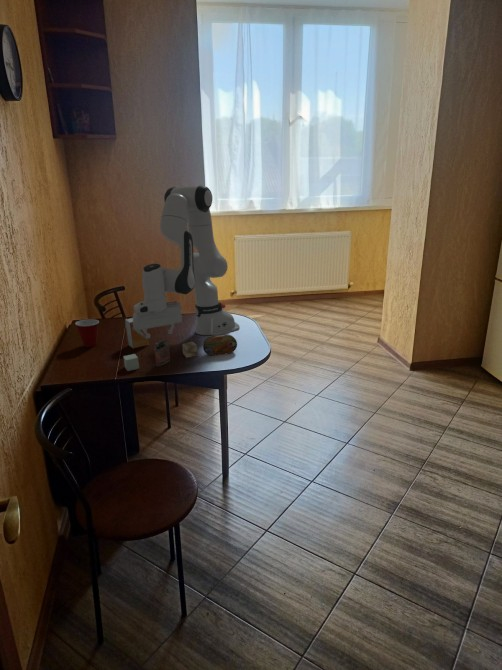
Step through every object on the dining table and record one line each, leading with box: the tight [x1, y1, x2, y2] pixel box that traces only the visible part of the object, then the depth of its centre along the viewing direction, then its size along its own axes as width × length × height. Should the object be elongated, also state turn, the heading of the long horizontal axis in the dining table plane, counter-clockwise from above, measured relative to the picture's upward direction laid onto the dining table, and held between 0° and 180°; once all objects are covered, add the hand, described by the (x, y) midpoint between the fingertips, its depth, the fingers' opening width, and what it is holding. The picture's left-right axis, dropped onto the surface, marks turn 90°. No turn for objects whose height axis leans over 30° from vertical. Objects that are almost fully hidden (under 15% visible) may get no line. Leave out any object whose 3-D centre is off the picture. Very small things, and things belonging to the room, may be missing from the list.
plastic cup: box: [74, 318, 100, 348], centre depth 223 cm, size 11×11×12 cm
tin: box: [202, 334, 238, 357], centre depth 206 cm, size 15×3×8 cm, turn 101°
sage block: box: [123, 353, 140, 372], centre depth 196 cm, size 5×5×5 cm
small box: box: [124, 317, 150, 349], centre depth 220 cm, size 8×6×13 cm
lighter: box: [153, 338, 171, 367], centre depth 199 cm, size 8×3×10 cm, turn 148°
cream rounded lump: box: [181, 341, 199, 359], centre depth 207 cm, size 5×5×5 cm
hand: (159, 336), depth 196 cm, fingers open, 8 cm apart
